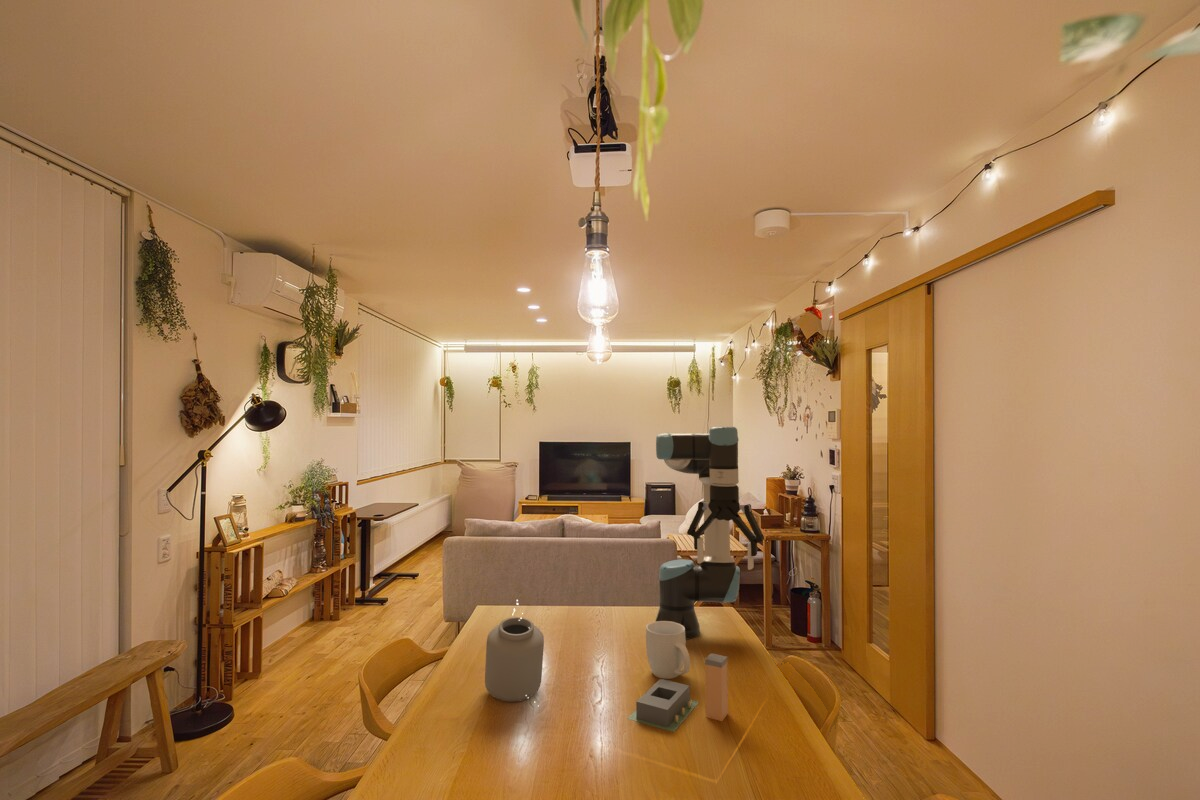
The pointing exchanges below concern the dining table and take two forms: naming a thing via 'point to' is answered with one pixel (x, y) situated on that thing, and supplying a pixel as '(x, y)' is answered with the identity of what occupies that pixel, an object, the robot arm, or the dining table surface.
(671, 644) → the mug
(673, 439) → the robot arm
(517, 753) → the dining table surface
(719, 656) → the plug
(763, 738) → the dining table surface
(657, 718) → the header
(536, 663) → the jar
